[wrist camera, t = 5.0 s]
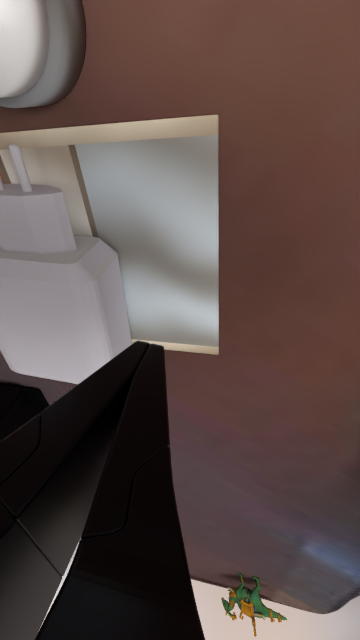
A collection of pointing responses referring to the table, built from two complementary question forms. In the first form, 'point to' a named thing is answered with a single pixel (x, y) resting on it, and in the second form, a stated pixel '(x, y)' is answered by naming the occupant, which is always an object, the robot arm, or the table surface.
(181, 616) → the robot arm
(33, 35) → the dome
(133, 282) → the game board
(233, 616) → the figurine
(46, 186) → the charger
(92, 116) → the table surface
